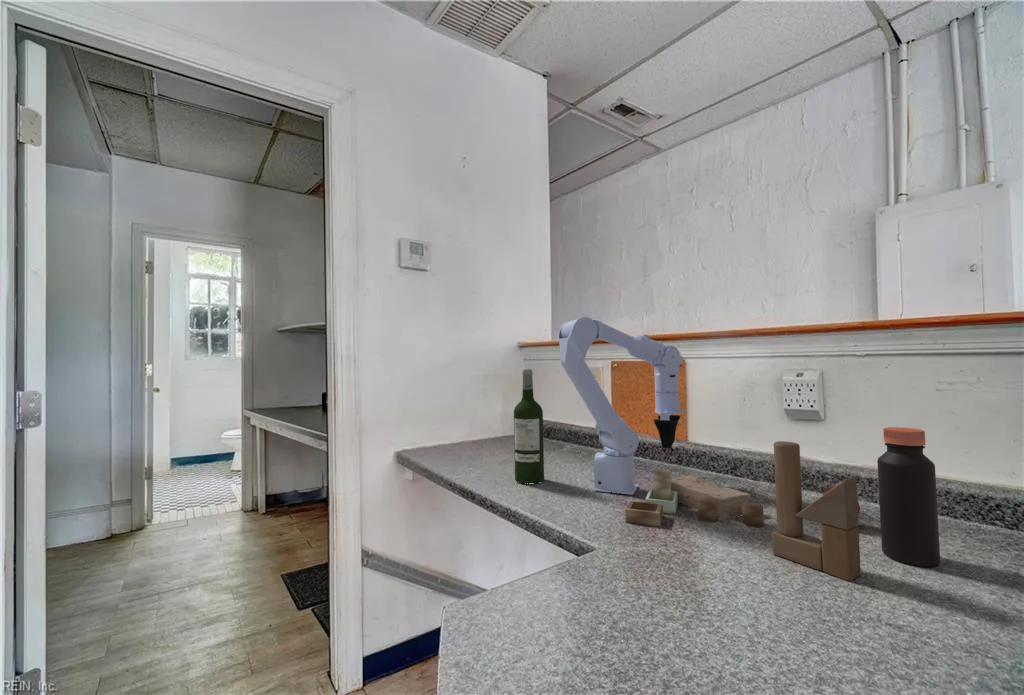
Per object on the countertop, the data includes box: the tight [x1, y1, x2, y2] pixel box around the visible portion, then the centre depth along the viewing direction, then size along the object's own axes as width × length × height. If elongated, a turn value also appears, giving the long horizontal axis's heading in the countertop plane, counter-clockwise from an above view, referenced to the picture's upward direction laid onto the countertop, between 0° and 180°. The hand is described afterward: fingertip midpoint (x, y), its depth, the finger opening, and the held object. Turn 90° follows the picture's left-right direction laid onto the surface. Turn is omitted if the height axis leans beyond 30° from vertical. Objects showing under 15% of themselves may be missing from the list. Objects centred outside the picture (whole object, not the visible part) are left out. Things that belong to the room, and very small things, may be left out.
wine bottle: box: [513, 368, 545, 485], centre depth 119 cm, size 8×8×30 cm
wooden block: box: [771, 440, 862, 582], centre depth 68 cm, size 4×11×18 cm, turn 31°
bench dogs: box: [697, 498, 765, 528], centre depth 86 cm, size 12×4×4 cm, turn 66°
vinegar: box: [876, 426, 941, 568], centre depth 69 cm, size 7×7×20 cm
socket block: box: [624, 499, 664, 528], centre depth 88 cm, size 6×6×2 cm
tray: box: [644, 488, 679, 515], centre depth 95 cm, size 6×8×2 cm
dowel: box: [653, 469, 672, 501], centre depth 95 cm, size 4×4×7 cm
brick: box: [671, 475, 752, 520], centre depth 96 cm, size 17×8×5 cm, turn 25°
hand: (668, 445), depth 113 cm, fingers open, 7 cm apart
